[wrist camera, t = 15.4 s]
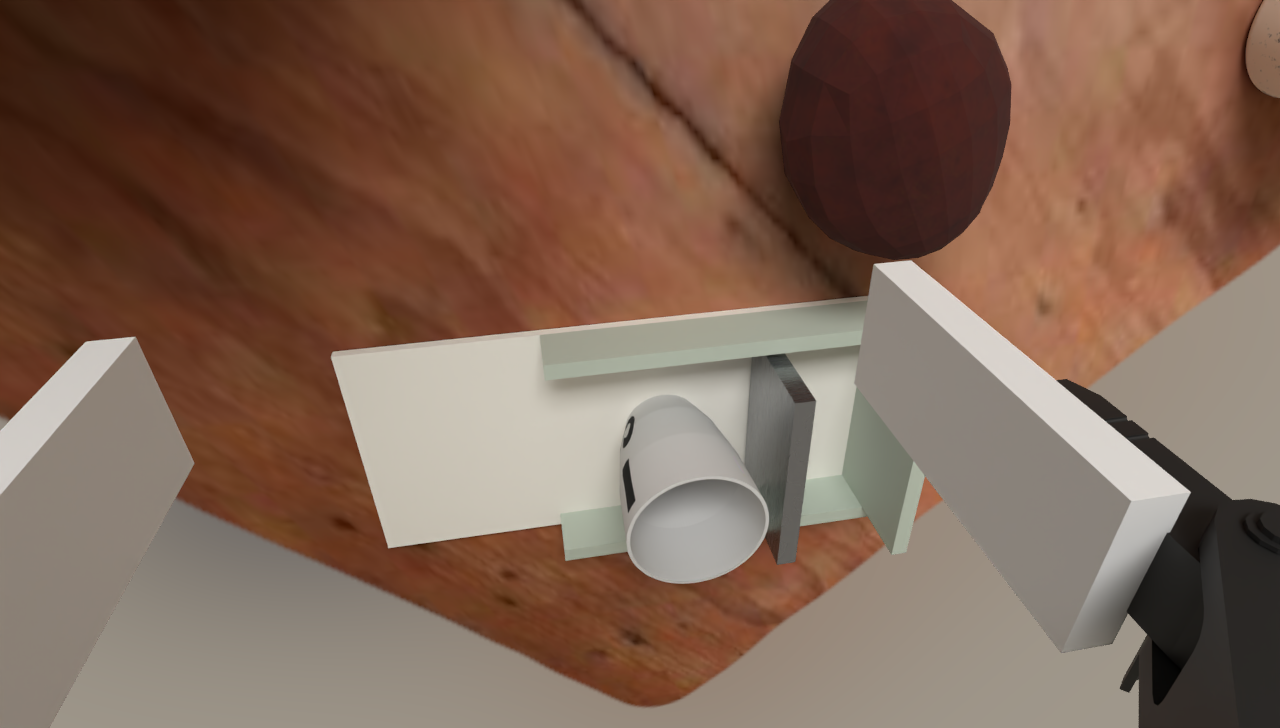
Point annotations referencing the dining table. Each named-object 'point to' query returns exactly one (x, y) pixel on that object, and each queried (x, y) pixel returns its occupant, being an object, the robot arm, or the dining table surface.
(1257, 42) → the teacup with lid
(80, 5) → the dining table surface
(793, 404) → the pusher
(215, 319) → the dining table surface
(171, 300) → the dining table surface
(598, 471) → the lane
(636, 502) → the cup
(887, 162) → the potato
